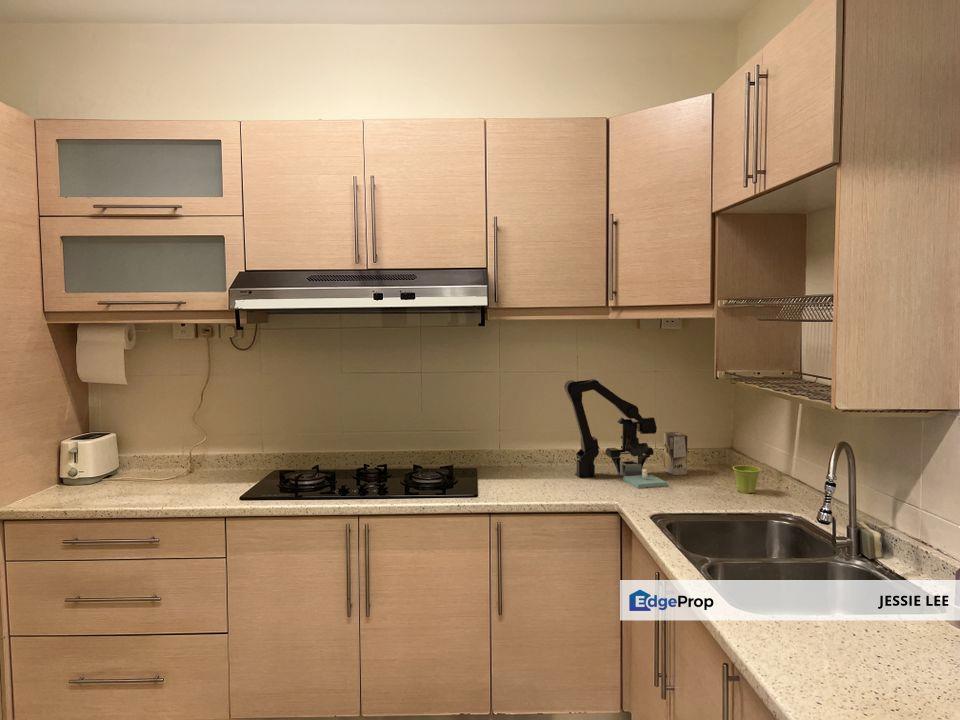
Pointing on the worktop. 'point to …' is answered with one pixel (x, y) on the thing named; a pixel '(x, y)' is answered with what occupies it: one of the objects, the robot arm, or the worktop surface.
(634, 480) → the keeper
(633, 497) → the worktop surface
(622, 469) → the link
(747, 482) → the plant pot
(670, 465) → the coffee box
